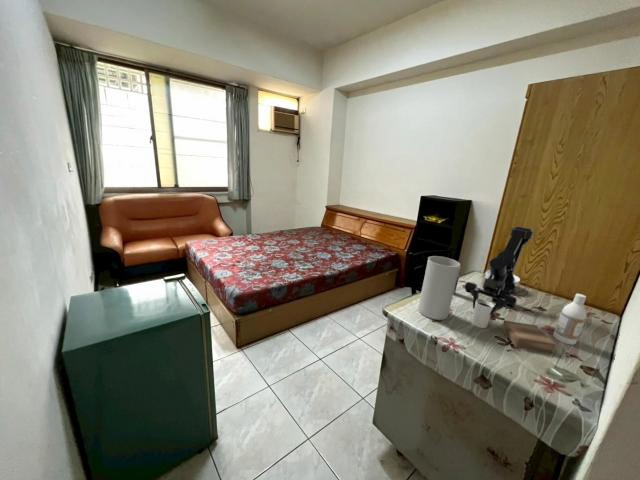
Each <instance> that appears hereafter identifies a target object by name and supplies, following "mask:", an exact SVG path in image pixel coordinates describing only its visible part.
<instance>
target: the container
mask: <svg viewBox="0 0 640 480" xmlns="http://www.w3.org/2000/svg"><path fill="white" fill-rule="evenodd" d="M461 269H462V267H461V266H460V268H459V272H458V276H457V280H456V284H455V288H454V293H453V296H454V295H455V294H456V290H457V287H458V283H459V279H460V275H461V271H462V270H461Z"/></svg>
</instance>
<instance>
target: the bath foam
mask: <svg viewBox="0 0 640 480" xmlns="http://www.w3.org/2000/svg"><path fill="white" fill-rule="evenodd" d="M586 300H587V296H586V295H584V294H581V293H576V294H575V295H574V297H573V301H572V302H569V303H568V304H566V305H565V306H564V307H563V308H562V310H561V313H560V315H559V317H558V320H557V323H556V326H555V329H554V331H553V334H552V335H553V337H554V338H555V339H556V340H557V341H558V342H561V343H563V344H567V345H569V346H570V345H571V346H572V345H573V346H574V345H576V343H577V341H578V339H579V336H580V335H581V332H582V330H583V327H584V325H585V322H586V320H587V311H586V309H585V306H584V304H585V302H586Z"/></svg>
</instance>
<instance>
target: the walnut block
mask: <svg viewBox="0 0 640 480" xmlns="http://www.w3.org/2000/svg"><path fill="white" fill-rule="evenodd" d="M501 330H502V331H503V332H504V333H505V335H506V336H507V338H508V339H509V340H510V341H511V342H512V344H513V345H514V346H515V348H520V349H525V350H530V351H536V352H542V353H549V354H553V353H554V349H555V346H556V343H555V342H554V341H553V340H552V339H551V338H550V337H549V336H548V335H546V333H545V332H544V331H542V330H541V329H540V327H538V326H537V325H535V324H530V323H529V324H528V323H524V322H523V323H522V322H518V321H517V322H516V321H509V320H503V323H502V326H501Z"/></svg>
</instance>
